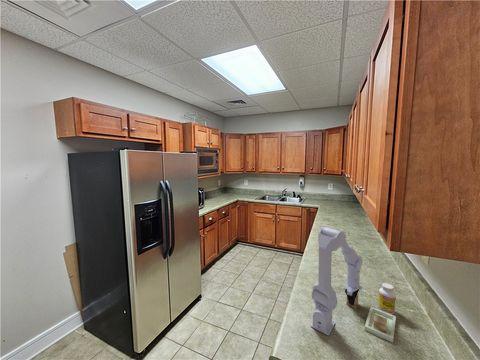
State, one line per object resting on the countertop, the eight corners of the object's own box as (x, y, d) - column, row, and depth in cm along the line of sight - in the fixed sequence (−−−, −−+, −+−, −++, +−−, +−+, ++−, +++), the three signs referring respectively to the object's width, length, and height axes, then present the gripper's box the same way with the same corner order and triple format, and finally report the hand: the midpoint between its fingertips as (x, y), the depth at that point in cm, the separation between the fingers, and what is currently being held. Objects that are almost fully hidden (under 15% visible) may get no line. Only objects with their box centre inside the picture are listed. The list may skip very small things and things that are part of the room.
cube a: (386, 328, 90) (387, 318, 89) (385, 335, 86) (386, 325, 86) (374, 323, 92) (374, 314, 92) (373, 329, 89) (373, 320, 89)
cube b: (356, 308, 103) (356, 300, 102) (346, 304, 106) (346, 296, 105) (358, 303, 106) (358, 295, 106) (348, 300, 109) (348, 292, 109)
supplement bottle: (380, 313, 99) (381, 288, 98) (376, 304, 105) (377, 280, 104) (397, 316, 97) (398, 291, 96) (392, 307, 103) (393, 283, 102)
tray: (393, 343, 83) (393, 338, 83) (364, 330, 89) (364, 326, 89) (395, 320, 95) (396, 316, 95) (370, 310, 101) (370, 306, 101)
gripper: (359, 286, 97) (358, 313, 98) (364, 273, 108) (363, 297, 109) (342, 280, 101) (342, 306, 102) (350, 269, 112) (349, 292, 113)
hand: (352, 301), depth 106 cm, fingers closed on cube b, 4 cm apart
